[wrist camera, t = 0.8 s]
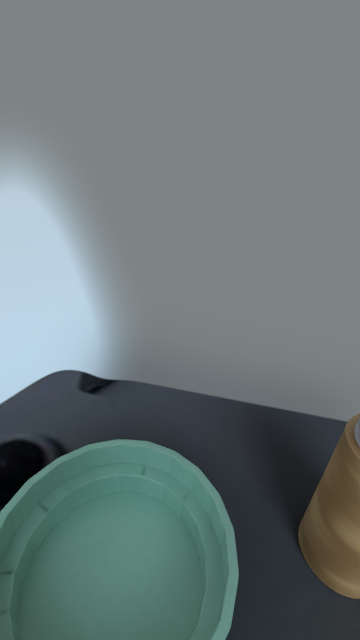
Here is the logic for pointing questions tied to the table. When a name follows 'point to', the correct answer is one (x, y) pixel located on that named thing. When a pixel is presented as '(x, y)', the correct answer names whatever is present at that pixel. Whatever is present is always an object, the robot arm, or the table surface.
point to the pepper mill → (336, 518)
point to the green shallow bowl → (117, 549)
